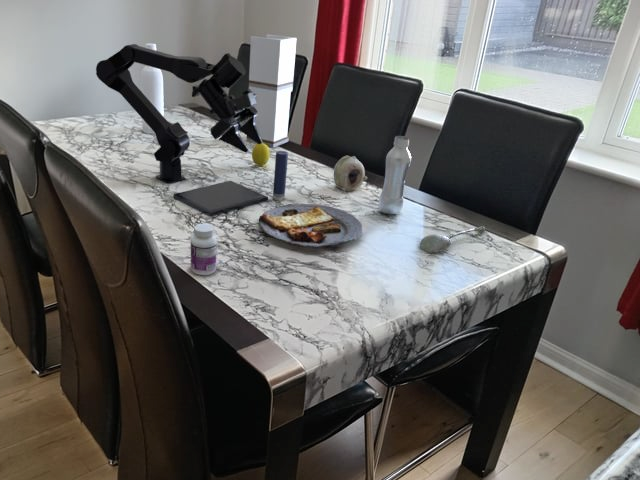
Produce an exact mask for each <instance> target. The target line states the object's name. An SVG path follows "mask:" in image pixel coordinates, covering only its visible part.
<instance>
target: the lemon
mask: <svg viewBox="0 0 640 480" xmlns="http://www.w3.org/2000/svg"><path fill="white" fill-rule="evenodd" d="M270 155H271V153H270V147H269V146H267V145H266V144H264V143H263V142H262V143H261V144H255V145H254V146H253V147H252V151H251V159H252V161H253V164H255V165H256V166H258V167H259V168H262V167H263V166H265V165H267V163H269V161H270V157H271V156H270Z"/></svg>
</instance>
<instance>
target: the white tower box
mask: <svg viewBox="0 0 640 480" xmlns="http://www.w3.org/2000/svg"><path fill="white" fill-rule="evenodd" d="M297 38H298V37H293V36H292V37H291V36H284V35H275V34H265V37H264V36H263V37H261V36H254V35H251V36H250V48H249V49H250V50H249V70H248V71H249V72H248V89H250V90H251V91H252V92H253V91H254V94H256V95H257V97H256V98H255V100H256V103H257V104H254V105H252V106H254V107H255V108H256V110H257V111H258V113H257V117H256V126H257V129H258V132H259V135H260V137H261V140H262V142H263V143H264V144H266V145H267V146H268V148H273V149H274V148H276V147H278V146H281V145H283V144H286V143H288V142H289V138H290V136H289V135H288V131H289V118H290V105H291V93H292V92H293V88H294V76H295V63H296V50H297ZM255 115H256V114H255ZM245 139H246V142H247V143H251V144H255V145H256V144H258V143H256V142H255V141H253V140H252V139H251V138H250V137H248V136H247V135H246V138H245ZM246 142H245V143H246Z"/></svg>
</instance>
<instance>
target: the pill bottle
mask: <svg viewBox="0 0 640 480" xmlns="http://www.w3.org/2000/svg"><path fill="white" fill-rule="evenodd" d="M214 234H215V227H214V226H213V225H212V224H209V223H198V224H196V225H194V227H193V235H192V236H191V238H190V270H191V271H192V272H193V274H196V275H199V276H208V275H213V274H214V273H215V272H216V271H217V256H218V255H217V253H218V239H217V237H216V235H214Z"/></svg>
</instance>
